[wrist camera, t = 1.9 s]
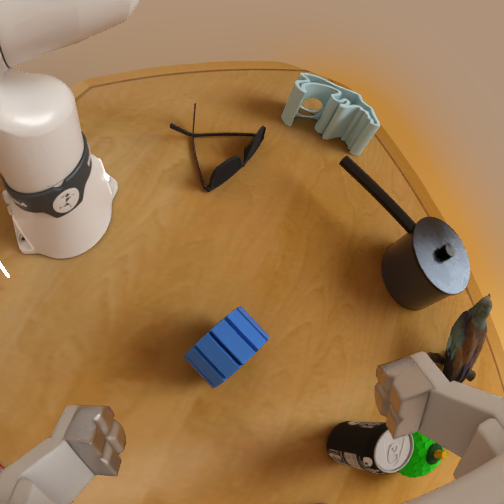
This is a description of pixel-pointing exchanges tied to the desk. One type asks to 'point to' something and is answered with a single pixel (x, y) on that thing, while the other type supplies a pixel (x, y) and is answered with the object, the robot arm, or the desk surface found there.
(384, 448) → the beverage can
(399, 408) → the robot arm
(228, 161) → the sunglasses
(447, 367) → the bird figurine
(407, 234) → the saucepan
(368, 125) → the squiggly pen holder
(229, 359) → the gear wheel
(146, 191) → the desk surface
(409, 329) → the desk surface
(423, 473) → the ornament
